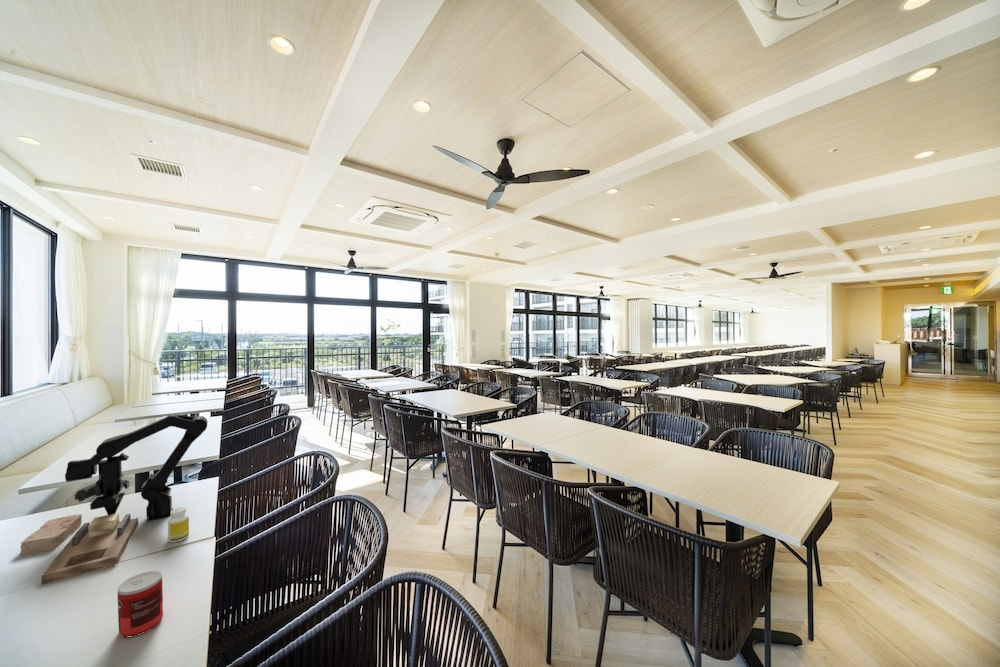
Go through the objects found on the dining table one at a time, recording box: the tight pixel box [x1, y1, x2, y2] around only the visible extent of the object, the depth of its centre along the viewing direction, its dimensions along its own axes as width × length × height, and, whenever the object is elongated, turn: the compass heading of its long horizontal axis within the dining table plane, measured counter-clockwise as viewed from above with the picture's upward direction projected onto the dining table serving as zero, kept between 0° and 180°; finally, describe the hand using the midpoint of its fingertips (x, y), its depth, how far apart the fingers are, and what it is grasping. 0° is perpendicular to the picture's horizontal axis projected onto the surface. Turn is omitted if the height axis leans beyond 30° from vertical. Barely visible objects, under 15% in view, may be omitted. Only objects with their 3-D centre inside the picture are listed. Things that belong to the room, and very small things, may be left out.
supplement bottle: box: [167, 507, 190, 543], centre depth 127 cm, size 5×5×10 cm
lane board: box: [41, 513, 139, 585], centre depth 120 cm, size 15×28×5 cm, turn 34°
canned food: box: [117, 570, 164, 638], centre depth 90 cm, size 8×8×11 cm
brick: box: [20, 513, 83, 556], centre depth 126 cm, size 17×8×5 cm, turn 28°
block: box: [88, 512, 120, 537], centre depth 127 cm, size 6×6×4 cm
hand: (111, 517), depth 134 cm, fingers closed
